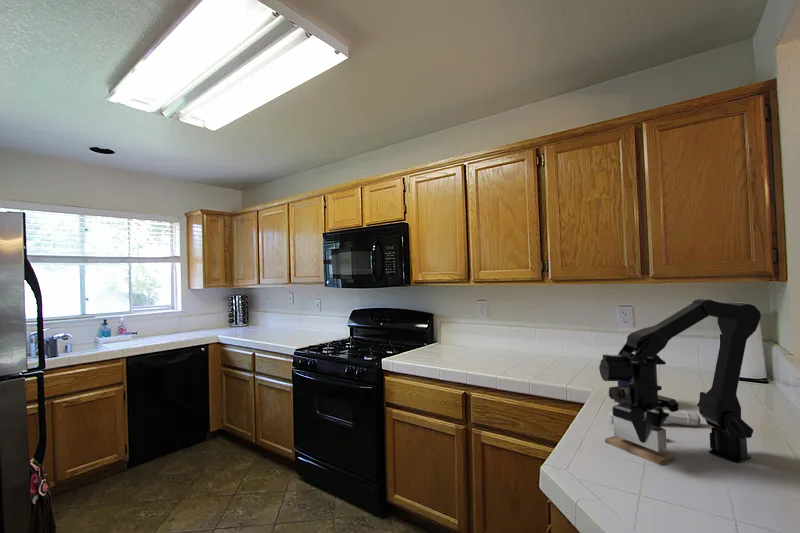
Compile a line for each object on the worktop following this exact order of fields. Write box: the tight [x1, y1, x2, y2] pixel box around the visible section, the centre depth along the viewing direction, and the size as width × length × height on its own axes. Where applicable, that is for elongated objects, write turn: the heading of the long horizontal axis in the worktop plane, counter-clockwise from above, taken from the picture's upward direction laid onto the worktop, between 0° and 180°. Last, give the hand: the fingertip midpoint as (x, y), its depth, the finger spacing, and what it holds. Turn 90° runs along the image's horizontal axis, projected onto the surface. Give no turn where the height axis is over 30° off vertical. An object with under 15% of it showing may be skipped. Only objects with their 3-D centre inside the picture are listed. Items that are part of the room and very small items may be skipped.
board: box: [604, 435, 676, 466], centre depth 103 cm, size 15×6×1 cm, turn 25°
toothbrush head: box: [609, 402, 702, 428], centre depth 120 cm, size 5×7×25 cm
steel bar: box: [612, 416, 668, 452], centre depth 102 cm, size 12×4×5 cm, turn 25°
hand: (647, 440), depth 100 cm, fingers closed on steel bar, 3 cm apart
